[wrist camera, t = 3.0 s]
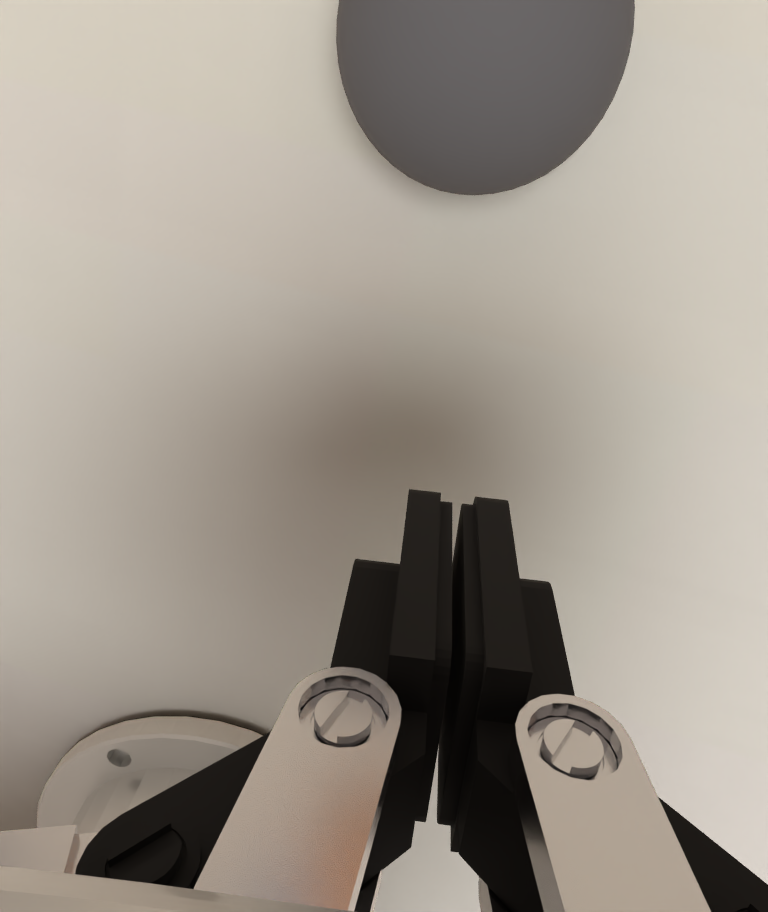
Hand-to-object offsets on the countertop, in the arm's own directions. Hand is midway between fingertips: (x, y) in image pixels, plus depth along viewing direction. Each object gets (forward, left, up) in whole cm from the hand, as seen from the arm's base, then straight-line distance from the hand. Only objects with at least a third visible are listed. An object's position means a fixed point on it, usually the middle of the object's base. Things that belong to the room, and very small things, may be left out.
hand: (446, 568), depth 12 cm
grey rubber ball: (+7, +5, -5) cm, 10 cm away
